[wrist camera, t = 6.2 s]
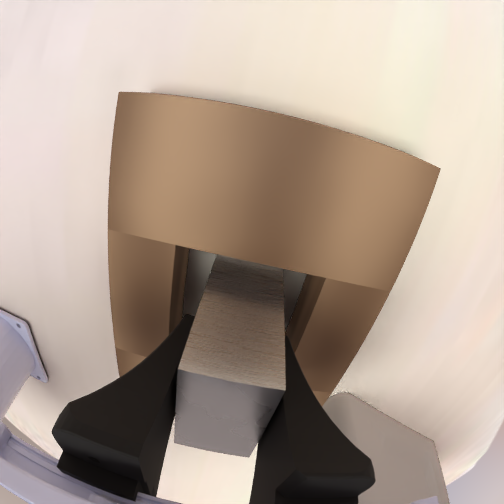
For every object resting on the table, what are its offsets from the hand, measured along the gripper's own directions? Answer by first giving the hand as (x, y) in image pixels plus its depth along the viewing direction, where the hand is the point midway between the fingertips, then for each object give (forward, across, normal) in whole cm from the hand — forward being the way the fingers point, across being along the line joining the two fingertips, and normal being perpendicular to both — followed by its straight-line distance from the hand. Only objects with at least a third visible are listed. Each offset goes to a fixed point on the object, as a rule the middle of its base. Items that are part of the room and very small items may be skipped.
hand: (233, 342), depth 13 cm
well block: (+4, 0, 0) cm, 4 cm away
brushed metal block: (+4, 0, 0) cm, 4 cm away
